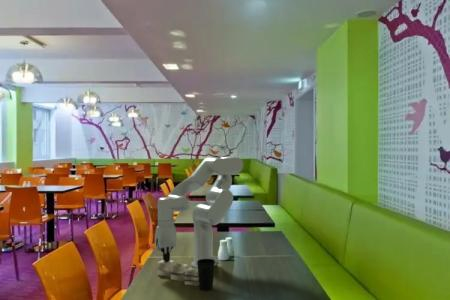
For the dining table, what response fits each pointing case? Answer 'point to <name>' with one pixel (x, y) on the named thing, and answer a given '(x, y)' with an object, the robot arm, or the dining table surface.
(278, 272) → the dining table surface
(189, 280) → the banded block two
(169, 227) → the robot arm
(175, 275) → the banded block one
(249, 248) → the dining table surface
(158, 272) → the plain block
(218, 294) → the dining table surface
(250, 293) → the dining table surface
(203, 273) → the cup
